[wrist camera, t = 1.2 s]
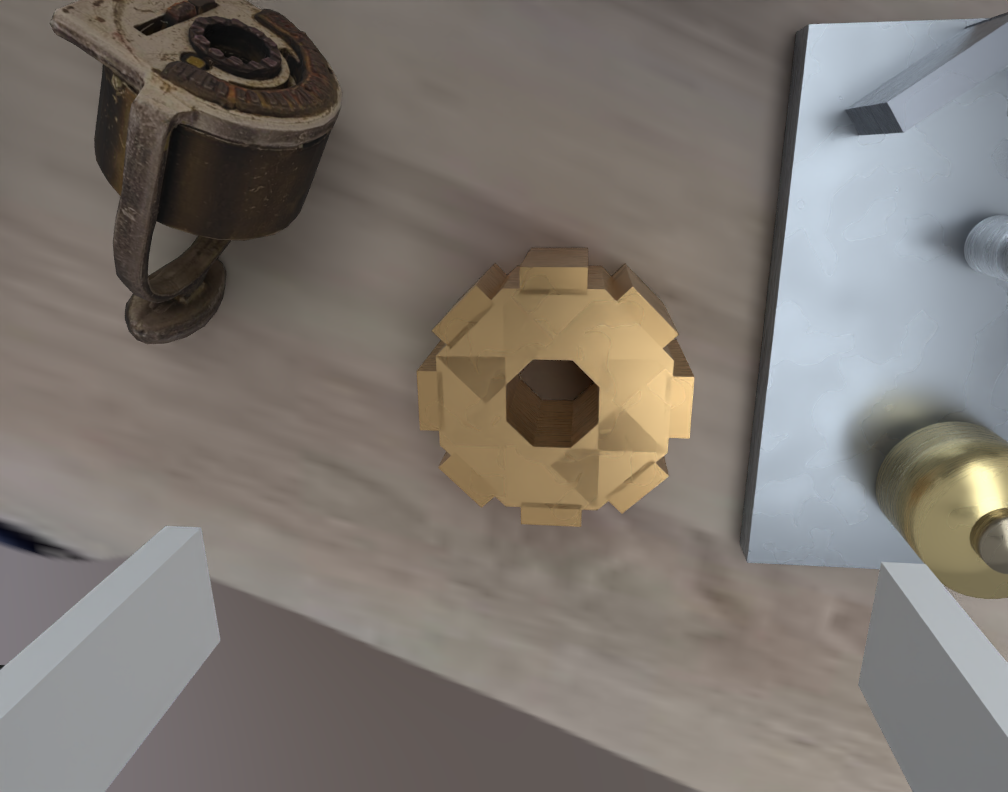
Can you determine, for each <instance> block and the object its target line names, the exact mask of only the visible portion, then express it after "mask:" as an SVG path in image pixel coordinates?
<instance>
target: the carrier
mask: <svg viewBox="0 0 1008 792" xmlns="http://www.w3.org/2000/svg"><path fill="white" fill-rule="evenodd" d="M740 545H741V548H742V550H743V553H744V556H745V558H746V561H747V562H749V563H769V564H789V565H809V566H829V567H849V568H869V569H880V566H881V562H894V563H914V564H926V565H927V566H928V567H929V569H930V570H931V571H932V572H933V573H934V575H935V576H936V577H937V578H938V579H939V581H940V582H941V583H942V584H944V585H945V586H947V587H948V588H950V589H952V590H954V591H956V592H958V593H961V594H964V595H966V596H971V597H975V598H984V599H1000V598H1008V12H1007V13H1004V14H1001V15H998V16H995V17H992V18H985V19H955V20H925V21H894V22H864V23H834V24H809V25H807V26H806V27H804V28H802V29H800V30H799V31H797V32H796V39H795V48H794V57H793V66H792V75H791V84H790V93H789V102H788V112H787V121H786V130H785V139H784V148H783V157H782V166H781V175H780V184H779V193H778V202H777V211H776V220H775V229H774V238H773V247H772V256H771V266H770V275H769V284H768V293H767V302H766V311H765V320H764V329H763V338H762V347H761V356H760V365H759V374H758V383H757V392H756V401H755V410H754V420H753V429H752V438H751V447H750V456H749V465H748V474H747V483H746V492H745V501H744V510H743V519H742V528H741V537H740Z"/></svg>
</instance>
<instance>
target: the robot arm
mask: <svg viewBox="0 0 1008 792" xmlns="http://www.w3.org/2000/svg"><path fill="white" fill-rule="evenodd" d="M219 642H220V635H219V629H218V624H217V617H216V612H215V606H214V600H213V594H212V589H211V582H210V576H209V570H208V564H207V558H206V553H205V547H204V541H203V535H202V529H201V528H200V527H181V526H165V527H164V528H163V529H162V530H160V531H159V532H158V533H157V534H156V535H155V536H154V537H152V538H151V539H150V540H149V541H148V542H147V543H146V544H144V545H143V546H142V547H141V548H140V549H139V550H137V551H136V552H135V553H134V554H133V555H132V556H131V557H129V558H128V559H127V560H126V561H125V562H124V563H123V564H121V565H120V566H119V567H118V568H117V569H116V570H114V571H113V572H112V573H111V574H110V575H109V576H108V577H106V578H105V579H104V580H103V581H102V582H101V583H100V584H98V585H97V586H96V587H95V588H94V589H93V590H92V591H90V592H89V593H88V594H87V595H86V596H85V597H83V598H82V599H81V600H80V601H79V602H78V603H77V604H75V605H74V606H73V607H72V608H71V609H70V610H69V611H67V612H66V613H65V614H64V615H63V616H62V617H61V618H59V619H58V620H57V621H56V622H55V623H54V624H53V625H51V626H50V627H49V628H48V629H47V630H46V631H44V632H43V633H42V634H41V635H40V636H39V637H37V638H36V640H34V641H33V642H32V643H31V644H29V645H28V646H27V647H26V648H25V649H24V650H23V651H21V652H20V653H19V654H18V655H17V656H16V657H15V658H13V659H12V660H11V661H10V662H9V663H8V664H6V665H0V792H105V791H106V790H107V789H108V787H109V786H110V784H111V783H112V782H113V781H114V779H115V778H116V777H117V775H118V774H119V773H120V771H121V770H122V769H123V768H124V766H125V765H126V764H127V762H128V761H129V760H130V758H131V757H132V756H133V754H134V753H135V752H136V751H137V749H138V748H139V747H140V745H141V744H142V743H143V741H144V740H145V739H146V737H147V736H148V735H149V734H150V732H151V731H152V730H153V728H154V727H155V726H156V724H157V723H158V722H159V720H160V719H161V718H162V716H163V715H164V714H165V712H166V711H167V710H168V709H169V707H170V706H171V705H172V703H173V702H174V701H175V699H176V698H177V697H178V695H179V694H180V693H181V692H182V690H183V689H184V688H185V686H186V685H187V684H188V682H189V681H190V680H191V678H192V677H193V676H194V674H195V673H196V672H197V671H198V669H199V668H200V667H201V665H202V664H203V663H204V661H205V660H206V659H207V658H208V656H209V655H210V653H211V652H212V651H213V650H214V648H215V647H216V646H217V644H218V643H219ZM858 685H859V687H860V689H861V691H862V693H863V695H864V697H865V699H866V701H867V703H868V705H869V707H870V709H871V711H872V713H873V715H874V717H875V719H876V721H877V723H878V725H879V727H880V728H881V730H882V732H883V734H884V736H885V738H886V740H887V742H888V744H889V746H890V748H891V750H892V752H893V754H894V756H895V758H896V760H897V762H898V764H899V766H900V768H901V770H902V772H903V774H904V776H905V778H906V780H907V782H908V783H909V785H910V787H911V789H912V791H913V792H1008V663H1007V662H1006V661H1005V659H1004V658H1003V657H1002V656H1001V654H1000V653H999V652H998V651H997V650H996V648H995V647H994V646H993V645H992V644H991V642H990V641H989V640H988V639H987V638H986V636H985V635H984V634H983V633H982V631H981V630H980V629H979V628H978V627H977V625H976V624H975V623H974V622H973V621H972V619H971V618H970V617H969V616H968V615H967V613H966V612H965V611H964V610H963V608H962V607H961V606H960V605H959V604H958V602H957V601H956V600H955V599H954V598H953V596H952V595H951V594H950V593H949V592H948V590H947V589H946V588H945V587H944V585H943V584H942V583H941V582H940V581H939V579H938V578H937V577H936V576H935V575H934V573H933V572H932V571H931V570H930V569H929V567H928V566H927V565H926V564H914V563H894V562H881V566H880V571H879V577H878V582H877V587H876V593H875V598H874V603H873V609H872V614H871V619H870V625H869V630H868V636H867V641H866V646H865V652H864V657H863V662H862V668H861V673H860V678H859V684H858Z"/></svg>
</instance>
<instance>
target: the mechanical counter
mask: <svg viewBox="0 0 1008 792" xmlns="http://www.w3.org/2000/svg"><path fill="white" fill-rule="evenodd" d="M50 25H51V27H52V29H53V31H54V32H55V34H56V35H58V36H60V37H62V38H64V39H65V40H67V41H69V42H71V43H73V44H75V45H76V46H78V47H79V48H81V49H82V50H83V51H85V52H86V53H88V54H89V55H91V56H92V57H94V58H95V59H97V60H98V61H99V62H101V63H102V64H103V70H102V82H101V90H100V98H99V106H98V114H97V122H96V130H95V138H94V141H95V155H96V161H97V163H98V165H99V167H100V169H101V171H102V172H103V174H104V176H105V177H106V179H107V180H108V182H109V183H110V184H111V185H112V187H113V188H114V189H115V190H116V191H117V193H118V194H119V195H120V201H119V206H118V211H117V216H116V221H115V230H114V238H113V250H114V260H115V267H116V274H117V276H118V277H119V279H120V280H121V281H122V282H123V283H124V284H125V285H126V286H127V288H128V289H129V290H130V291H131V292H132V293H133V295H132V296H131V298H130V299H129V301H128V302H127V304H126V309H125V321H126V324H127V327H128V330H129V332H130V333H131V334H132V335H133V336H134V337H135V338H136V339H137V340H139V341H141V342H144V343H146V344H162V343H169V342H172V341H175V340H178V339H181V338H185V337H187V336H189V335H191V334H192V333H194V332H196V331H197V330H199V329H200V328H202V327H204V326H205V325H206V324H207V323H208V321H209V320H210V319H211V318H212V317H213V315H214V314H215V313H216V312H217V310H218V308H219V306H220V303H221V301H222V299H223V295H224V289H225V281H226V272H225V269H224V267H223V265H222V263H221V262H220V261H218V260H217V258H218V257H219V256H220V254H221V253H222V252H223V251H224V249H225V248H226V247H227V246H228V244H229V243H230V242H231V240H249V239H254V238H259V237H264V236H269V235H274V234H276V233H277V232H279V231H281V230H283V229H284V228H286V227H288V226H289V224H290V223H291V222H292V221H293V220H294V219H295V218H296V217H297V216H298V214H299V213H300V211H301V209H302V206H303V204H304V201H305V199H306V196H307V194H308V191H309V189H310V186H311V183H312V180H313V178H314V175H315V172H316V169H317V167H318V164H319V161H320V158H321V156H322V153H323V150H324V148H325V145H326V142H327V139H328V137H329V134H330V131H331V129H332V128H333V126H334V123H335V121H336V119H337V117H338V114H339V111H340V108H341V103H342V91H341V88H340V85H339V83H338V80H337V78H336V76H335V74H334V72H333V70H332V68H331V67H330V65H329V63H328V62H327V60H326V59H325V58H324V57H323V55H322V54H321V53H320V52H319V50H318V49H317V48H316V46H315V45H314V44H313V42H312V41H311V40H310V39H309V37H308V36H307V35H306V33H305V32H302V31H300V30H299V29H298V28H296V27H295V25H294V24H293V23H292V22H290V21H289V20H288V19H287V18H286V17H284V16H283V15H281V14H280V13H278V12H275V11H273V10H270V9H263V10H260V9H259V8H257V7H255V6H254V5H252V4H251V3H249V2H248V1H246V0H79V1H76V2H73V3H71V4H68V5H66V6H63V7H60V8H58V9H56V10H55V12H54V14H53V17H52V19H51V22H50ZM156 221H157V222H159V223H162V224H164V225H166V226H169V227H171V228H175V229H178V230H181V231H184V232H188V233H191V234H194V235H198V237H197V238H196V240H195V241H194V242H193V244H192V245H191V247H189V248H188V249H187V250H186V251H185V252H184V253H183V254H182V255H181V256H179V257H178V258H177V259H175V260H173V261H172V262H170V263H169V264H167V265H165V266H163V267H162V268H160V269H159V270H157V271H156V272H154V273H152V274H151V275H149V276H148V259H149V252H150V246H151V240H152V234H153V230H154V227H155V224H156Z"/></svg>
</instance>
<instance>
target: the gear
mask: <svg viewBox="0 0 1008 792" xmlns="http://www.w3.org/2000/svg"><path fill="white" fill-rule="evenodd" d="M432 331H433V332H434V333H435V334H436V335H437V336H438V337H439V338H440V339H441V341H440V342H439V344H438V345H437V346H436V347H435V349H434V350H433V351H432V352H431V354H430V355H429V356H428V357H427V359H426V360H425V361H424V362H423V364H422V365H421V366H420V368H419V369H418V370H417V386H418V404H419V421H420V430H432V431H439V436H440V446H441V447H442V448H444V449H445V450H446V453H445V455H444V457H443V459H442V461H441V463H440V465H439V467H438V468H439V469H440V470H441V471H442V472H443V473H445V474H446V475H447V476H448V477H449V478H450V479H451V480H452V481H453V482H454V483H455V484H456V485H458V486H459V487H460V488H461V489H462V490H463V491H464V492H465V493H466V494H467V495H468V496H469V497H471V498H472V499H473V500H474V501H475V502H476V503H477V504H478V505H479V506H480V507H481V508H482V507H483V506H484V505H485V504H487V503H488V502H489V501H490V500H491V499H492V498H493V497H496V498H497V499H498V500H499V501H500V502H502V503H503V504H504V505H505V506H509V507H521V524H531V525H553V526H575V527H581V513H582V510H598V509H599V508H601V507H602V506H603V505H604V504H605V503H607V502H608V501H609V502H610V503H611V504H612V505H613V506H614V507H615V508H616V509H617V510H618V511H620V512H621V513H624V512H625V511H626V510H627V509H629V508H630V507H631V506H632V505H634V504H635V503H636V502H637V501H639V500H640V499H641V498H642V497H644V496H645V495H646V494H647V493H649V492H650V491H651V490H652V489H654V488H655V487H656V486H657V485H659V484H660V483H661V482H662V481H663V480H665V479H666V478H667V477H668V476H669V475H668V471H667V467H666V463H665V458H664V455H665V454H667V453H668V439H669V438H690V425H691V413H692V400H693V387H694V375H693V373H692V371H691V369H690V367H689V365H688V363H687V360H686V358H685V356H684V354H683V352H682V350H681V348H680V346H679V344H678V341H677V339H674V338H675V337H676V336H677V335H679V334H678V332H677V330H676V328H675V326H674V324H673V322H672V320H671V318H670V316H669V314H668V312H667V310H666V308H665V306H664V304H663V302H662V301H661V300H660V299H659V298H658V297H657V296H656V295H655V294H654V293H653V292H652V291H651V290H650V289H649V288H648V287H647V286H646V285H645V284H644V283H643V282H642V281H641V280H640V278H639V277H638V276H637V275H636V274H635V273H634V272H633V271H632V270H631V269H630V268H629V267H628V266H627V265H626V264H624V265H623V266H622V267H621V268H620V269H619V270H618V271H617V272H616V273H615V274H613V275H612V276H611V275H610V274H609V273H608V272H607V271H606V270H605V269H604V268H603V267H602V266H588V248H531V249H530V251H529V252H528V254H527V256H526V257H525V259H524V261H523V262H522V264H521V266H516V267H515V268H514V269H513V271H512V272H511V273H510V274H509V275H508V276H507V275H506V274H505V273H504V272H503V271H502V269H501V268H500V267H499V266H498V265H497V264H496V263H494V264H493V266H492V267H491V268H490V269H489V270H488V271H487V272H486V273H485V274H484V275H483V276H482V277H481V278H480V279H479V280H478V281H477V282H476V283H475V284H474V285H473V286H472V287H471V288H470V289H469V290H468V291H467V292H466V293H465V294H464V295H463V296H462V297H461V298H460V300H459V301H458V302H457V303H456V304H455V305H454V306H453V307H452V308H451V309H450V311H449V312H448V313H447V314H446V315H445V316H444V317H443V319H442V320H441V321H440V322H439V323H438V324H437V325H436V326H435V328H434V329H433V330H432ZM533 359H536V360H573V361H574V362H575V363H576V364H577V365H578V366H579V367H580V368H581V369H582V370H583V371H584V372H585V373H586V374H587V375H588V376H589V377H590V378H591V379H592V380H593V381H594V383H593V384H592V385H591V386H589V387H588V388H587V389H586V390H585V391H584V392H583V393H582V394H580V395H579V396H578V397H577V398H576V399H575V400H574V401H565V400H541V399H540V398H539V397H538V396H537V395H536V394H535V393H534V392H533V391H532V390H531V389H530V388H529V387H528V386H527V385H526V384H525V383H524V382H523V381H522V380H521V379H520V378H519V372H520V371H521V370H522V369H523V368H524V367H525V366H527V365H528V364H529V363H530V362H531V361H532V360H533Z"/></svg>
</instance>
